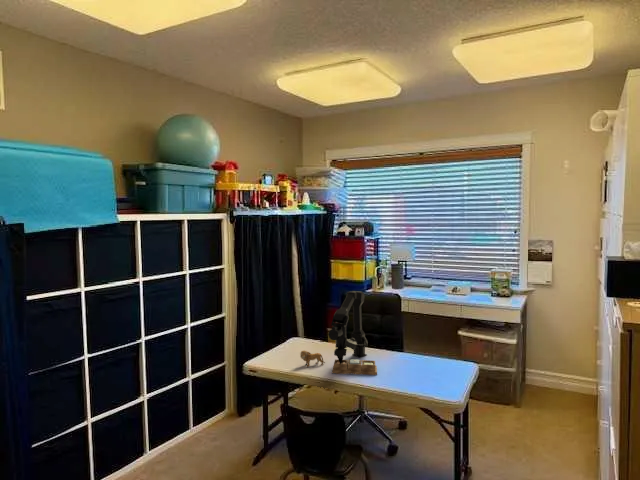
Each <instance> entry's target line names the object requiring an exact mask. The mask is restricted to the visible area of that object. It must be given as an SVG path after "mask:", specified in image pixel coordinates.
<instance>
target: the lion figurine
mask: <svg viewBox="0 0 640 480" xmlns="http://www.w3.org/2000/svg"><path fill="white" fill-rule="evenodd" d="M299 355H300V359H301V360H302V361H304V362H305V364H307V365H306V366H307V367H310V365H311V364H310V362H311V361H315V360H316V362H315V364H316V365H318V364H319V362H320V363H321V364H320V365H321V366H323V365H324V364H326V362H325V361H324V358H323V355H322V354H321V353H319V352H315V353H311V352H310V351H307V350H301V352H299ZM317 363H318V364H317Z"/></svg>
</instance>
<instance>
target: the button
mask: <svg viewBox="0 0 640 480" xmlns="http://www.w3.org/2000/svg"><path fill="white" fill-rule="evenodd" d="M349 360H350V364H359V360H360V359H349Z"/></svg>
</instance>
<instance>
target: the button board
mask: <svg viewBox="0 0 640 480" xmlns="http://www.w3.org/2000/svg"><path fill="white" fill-rule="evenodd" d="M358 360H359V364H350V359H343V361H342V362H346V364H336V363H337V362H339V360H338V359H334V362H333V365H332V370H331V373H336V375H337V374H339V375H365V376H366V375H367V376H369V375H370V376H377V375H378V365H376V360H365V359H363V360H362V359H358ZM364 362H365V363H373V365H369V364H364Z"/></svg>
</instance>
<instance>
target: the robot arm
mask: <svg viewBox="0 0 640 480" xmlns="http://www.w3.org/2000/svg"><path fill="white" fill-rule="evenodd" d="M365 297H366V296H365V293H364V292H363V291H357V290H352V291H347V292H346V297H345V299H344V301H343V302H342V304H341V307H340V308H338V309H336V311H335V312H334V314H333V317H332V320H331V324H330V326H331V329H330V330H329V331H328V332H327V333H328V334H327V335H328V338H329V339H330V340H332V341H335V349H334V351H333V355H334V357H335V356H336V358H337V360H339V362H340V363H342V361H343V360H344V357H346V356H347V350H348V349H347V348H349V349H351V350H353V353H352V354H351V355H352V356H354V357H357V358H362V357H366V356H368V354H366V347H368V343H369V342H368V339H367V338H366V333H365V331H364V330H363V323H362V322H363V319H362V318H363V317H362V305H363V303H364V302H365ZM351 307H352V309H353V331H352V333H351V334H350V338H348V336H347V326H348V322H349V320H350V317H349V312H350V310H351Z"/></svg>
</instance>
